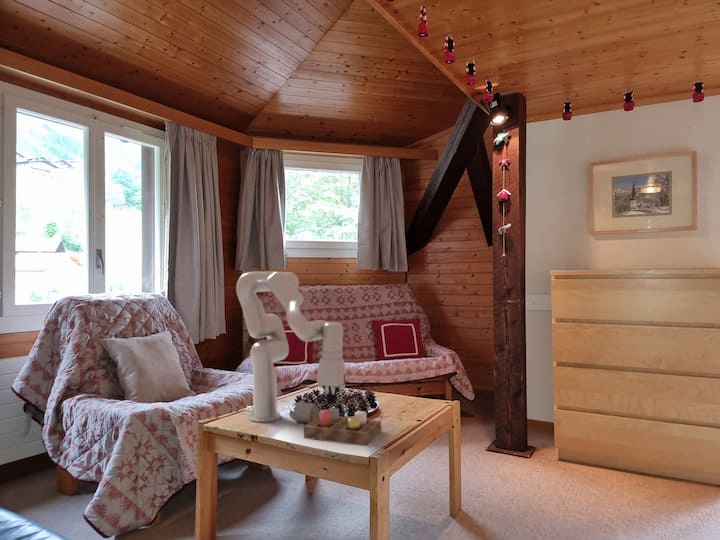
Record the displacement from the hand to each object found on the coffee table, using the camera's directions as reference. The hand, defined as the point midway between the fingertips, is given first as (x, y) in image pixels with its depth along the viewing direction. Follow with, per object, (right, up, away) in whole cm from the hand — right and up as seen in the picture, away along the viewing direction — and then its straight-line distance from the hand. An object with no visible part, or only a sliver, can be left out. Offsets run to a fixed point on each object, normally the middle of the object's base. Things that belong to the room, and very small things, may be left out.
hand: (331, 403), depth 193 cm
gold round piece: (+9, -7, -11) cm, 16 cm away
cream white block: (+11, -7, -4) cm, 14 cm away
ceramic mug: (-10, -10, +11) cm, 18 cm away
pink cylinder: (-2, -6, -7) cm, 9 cm away
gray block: (+1, -8, 0) cm, 8 cm away
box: (+5, -10, -6) cm, 12 cm away
